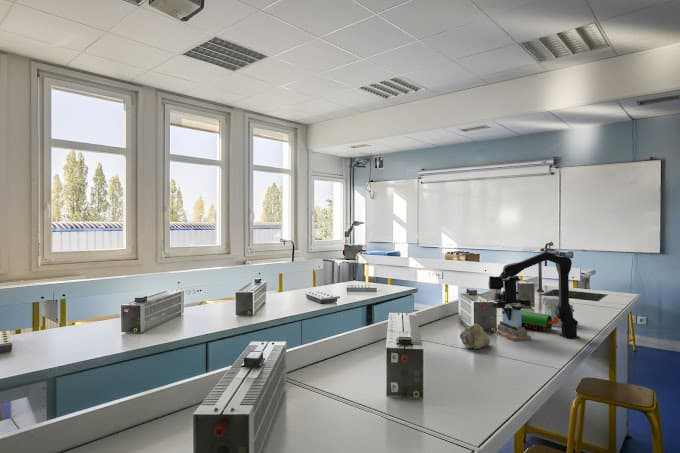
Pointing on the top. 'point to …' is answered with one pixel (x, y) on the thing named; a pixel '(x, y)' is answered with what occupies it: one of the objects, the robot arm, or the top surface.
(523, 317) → the motor
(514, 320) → the cabinet door
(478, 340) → the lumpy boulder
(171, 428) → the top surface
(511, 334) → the cabinet base
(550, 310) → the circuit breaker
